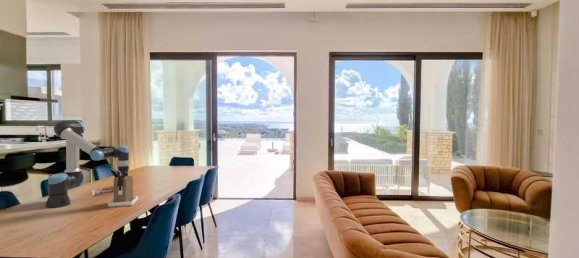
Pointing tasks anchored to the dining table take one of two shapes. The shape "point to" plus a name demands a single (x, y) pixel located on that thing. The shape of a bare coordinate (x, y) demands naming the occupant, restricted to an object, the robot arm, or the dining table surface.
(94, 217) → the dining table surface
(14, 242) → the dining table surface
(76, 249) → the dining table surface
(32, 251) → the dining table surface
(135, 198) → the dish
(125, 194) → the wooden block
